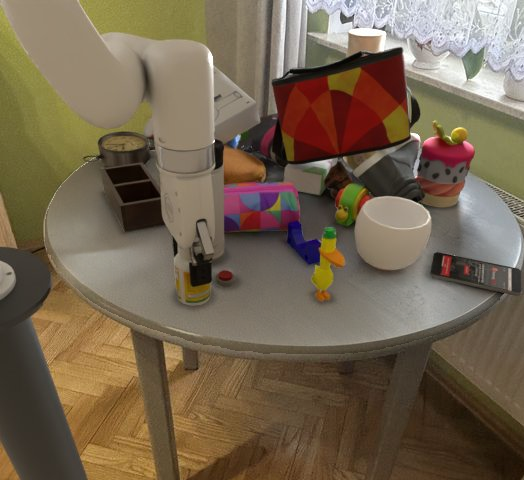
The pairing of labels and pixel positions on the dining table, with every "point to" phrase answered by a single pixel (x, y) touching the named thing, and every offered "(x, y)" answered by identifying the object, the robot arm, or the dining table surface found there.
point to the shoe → (268, 145)
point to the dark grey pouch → (256, 131)
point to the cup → (391, 232)
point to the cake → (444, 166)
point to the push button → (225, 278)
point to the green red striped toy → (350, 203)
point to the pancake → (242, 167)
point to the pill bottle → (149, 130)
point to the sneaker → (392, 171)
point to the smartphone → (476, 273)
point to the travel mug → (218, 202)
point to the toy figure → (327, 263)
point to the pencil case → (260, 206)
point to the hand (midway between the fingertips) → (192, 269)
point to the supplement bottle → (188, 279)
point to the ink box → (309, 175)
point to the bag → (343, 108)
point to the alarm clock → (123, 149)
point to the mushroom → (357, 159)
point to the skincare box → (231, 109)
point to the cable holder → (303, 244)
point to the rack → (133, 196)
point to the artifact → (337, 179)
